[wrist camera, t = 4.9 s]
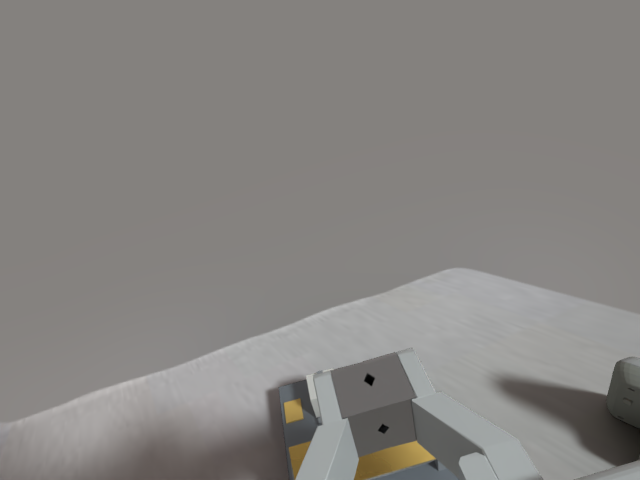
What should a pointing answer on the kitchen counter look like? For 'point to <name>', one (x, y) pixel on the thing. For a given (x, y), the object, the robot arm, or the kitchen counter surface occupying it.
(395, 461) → the lever
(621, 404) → the digital clock
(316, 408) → the slide switch
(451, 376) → the kitchen counter surface
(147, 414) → the kitchen counter surface
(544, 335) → the kitchen counter surface
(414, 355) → the robot arm
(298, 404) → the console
